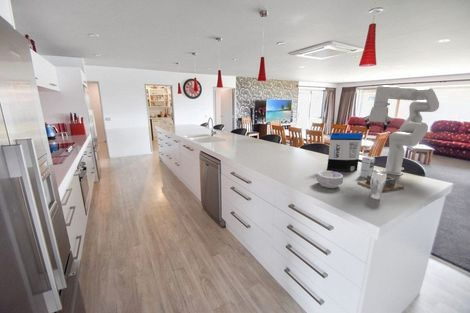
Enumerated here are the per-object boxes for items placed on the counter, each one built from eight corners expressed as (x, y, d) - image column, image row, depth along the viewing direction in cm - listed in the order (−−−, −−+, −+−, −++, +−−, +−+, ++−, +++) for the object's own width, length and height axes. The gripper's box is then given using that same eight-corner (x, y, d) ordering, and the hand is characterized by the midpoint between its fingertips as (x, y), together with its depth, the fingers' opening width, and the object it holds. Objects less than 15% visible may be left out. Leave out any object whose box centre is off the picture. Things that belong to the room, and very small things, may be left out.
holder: (378, 180, 146) (380, 172, 145) (403, 188, 132) (405, 179, 130) (357, 183, 140) (358, 174, 138) (380, 192, 125) (382, 183, 123)
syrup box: (367, 178, 150) (370, 158, 147) (359, 175, 155) (362, 156, 152) (372, 177, 153) (375, 157, 149) (364, 174, 158) (367, 156, 155)
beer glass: (364, 195, 121) (368, 170, 118) (376, 194, 122) (380, 170, 118) (373, 200, 114) (378, 174, 111) (385, 200, 115) (390, 173, 111)
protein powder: (360, 172, 165) (366, 133, 158) (329, 171, 165) (333, 133, 158) (353, 168, 174) (359, 132, 167) (324, 168, 174) (328, 132, 167)
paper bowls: (311, 183, 139) (312, 172, 137) (328, 180, 145) (329, 169, 143) (329, 191, 126) (330, 179, 124) (347, 188, 131) (349, 176, 130)
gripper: (397, 105, 140) (392, 131, 144) (367, 105, 152) (363, 128, 156) (394, 104, 135) (389, 131, 139) (364, 104, 147) (360, 129, 151)
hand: (375, 130), depth 147 cm, fingers open, 9 cm apart
